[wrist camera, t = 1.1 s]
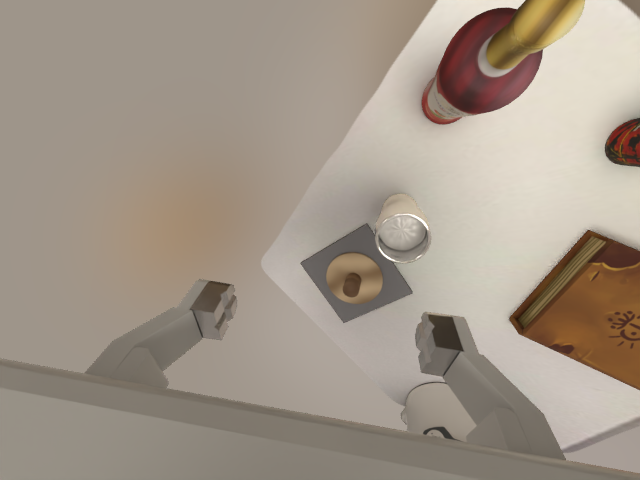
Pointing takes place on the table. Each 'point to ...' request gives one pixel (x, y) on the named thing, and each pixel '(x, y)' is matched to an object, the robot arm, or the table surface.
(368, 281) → the oak lid
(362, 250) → the rubber mat
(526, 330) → the diary
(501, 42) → the liquor
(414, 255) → the beer glass
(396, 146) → the table surface
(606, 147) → the deodorant
